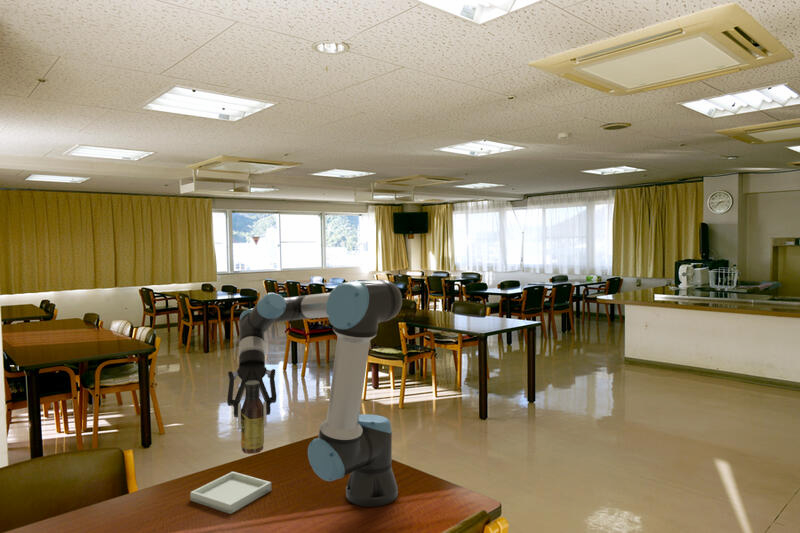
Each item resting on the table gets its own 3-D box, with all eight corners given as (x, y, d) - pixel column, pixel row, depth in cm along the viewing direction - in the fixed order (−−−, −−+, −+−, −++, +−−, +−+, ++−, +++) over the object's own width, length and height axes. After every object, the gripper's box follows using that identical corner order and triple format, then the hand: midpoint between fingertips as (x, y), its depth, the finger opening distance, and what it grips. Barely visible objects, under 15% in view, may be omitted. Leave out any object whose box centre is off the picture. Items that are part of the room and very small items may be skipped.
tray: (271, 490, 159) (271, 482, 159) (230, 514, 145) (230, 505, 145) (232, 479, 166) (232, 471, 166) (190, 500, 152) (190, 492, 152)
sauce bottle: (243, 446, 153) (243, 378, 152) (265, 446, 154) (265, 378, 153) (238, 455, 147) (238, 385, 146) (261, 455, 147) (262, 384, 146)
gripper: (283, 360, 167) (287, 429, 152) (219, 363, 161) (216, 435, 147) (284, 346, 161) (288, 417, 146) (218, 349, 156) (215, 422, 141)
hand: (252, 425), depth 146 cm, fingers closed on sauce bottle, 6 cm apart
